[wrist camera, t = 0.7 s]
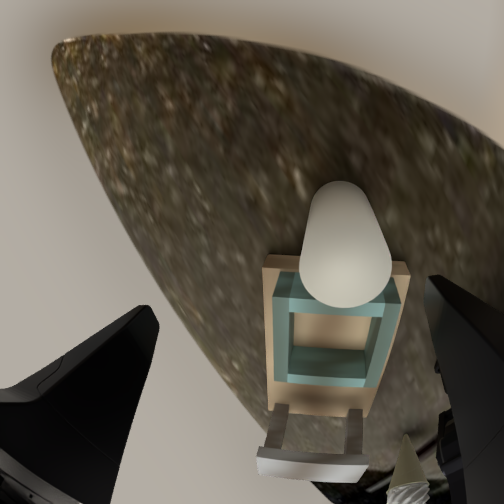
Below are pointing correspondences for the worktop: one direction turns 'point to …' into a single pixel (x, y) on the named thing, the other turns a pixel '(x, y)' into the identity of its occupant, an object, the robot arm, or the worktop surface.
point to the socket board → (323, 366)
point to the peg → (343, 248)
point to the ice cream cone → (408, 478)
